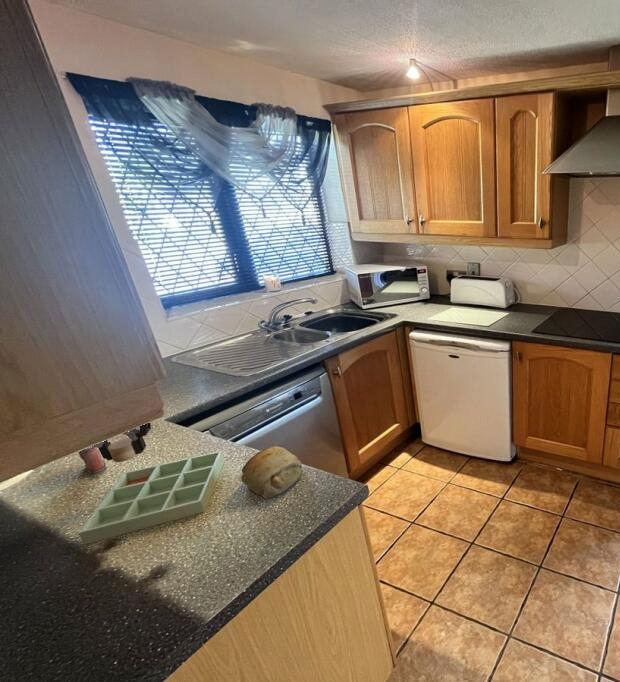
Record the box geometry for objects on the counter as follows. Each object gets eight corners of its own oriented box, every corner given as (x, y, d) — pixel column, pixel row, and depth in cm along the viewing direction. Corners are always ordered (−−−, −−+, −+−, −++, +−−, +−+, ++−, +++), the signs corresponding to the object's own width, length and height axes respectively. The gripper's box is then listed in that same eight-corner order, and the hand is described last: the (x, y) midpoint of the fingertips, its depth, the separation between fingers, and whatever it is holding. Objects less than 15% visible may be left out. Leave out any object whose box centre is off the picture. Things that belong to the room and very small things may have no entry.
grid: (84, 544, 76) (77, 533, 75) (128, 482, 93) (123, 472, 92) (204, 511, 84) (200, 501, 83) (225, 459, 101) (221, 450, 100)
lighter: (84, 465, 100) (67, 432, 96) (102, 458, 102) (86, 426, 99) (90, 477, 95) (74, 443, 92) (109, 469, 98) (93, 436, 94)
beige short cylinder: (109, 464, 86) (103, 451, 84) (118, 453, 90) (113, 440, 88) (135, 458, 87) (129, 446, 86) (143, 447, 91) (138, 435, 90)
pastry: (256, 466, 98) (248, 440, 95) (309, 458, 101) (302, 432, 98) (233, 506, 85) (223, 477, 82) (294, 495, 88) (287, 467, 85)
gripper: (145, 376, 88) (170, 438, 94) (61, 389, 83) (94, 454, 89) (131, 389, 82) (159, 455, 88) (39, 405, 76) (76, 474, 82)
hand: (126, 454), depth 88 cm, fingers closed on beige short cylinder, 4 cm apart
